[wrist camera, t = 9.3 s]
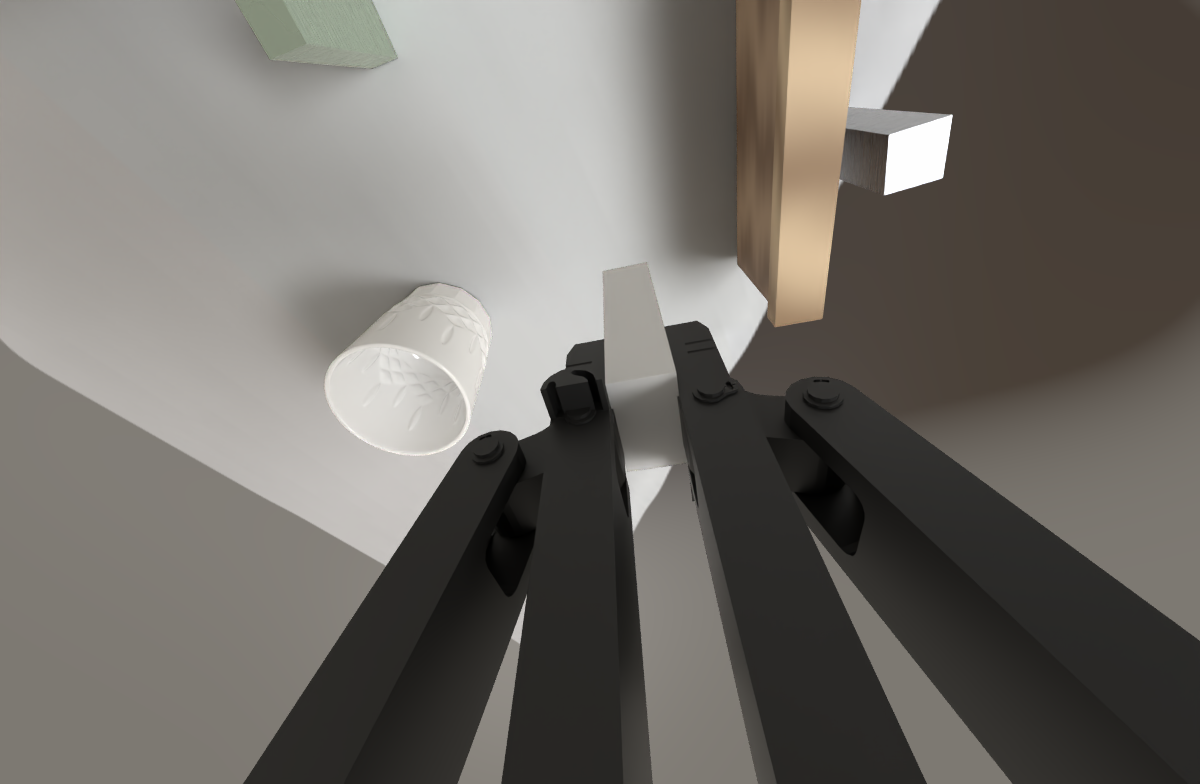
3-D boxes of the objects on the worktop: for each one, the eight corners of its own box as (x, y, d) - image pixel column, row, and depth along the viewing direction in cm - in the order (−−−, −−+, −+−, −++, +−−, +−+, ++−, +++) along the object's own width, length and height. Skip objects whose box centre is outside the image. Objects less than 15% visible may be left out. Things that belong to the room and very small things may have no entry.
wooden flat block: (729, -58, 20) (798, -131, 13) (782, -72, 20) (880, -153, 13) (732, 272, 29) (774, 327, 22) (768, 265, 29) (822, 318, 22)
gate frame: (854, -236, 18) (1080, -516, 9) (843, 152, 26) (959, 182, 18) (336, -3, 21) (181, -59, 13) (470, 270, 30) (425, 339, 22)
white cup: (450, 385, 35) (408, 474, 27) (370, 314, 32) (293, 393, 23) (521, 335, 33) (499, 416, 25) (444, 251, 29) (386, 315, 21)
